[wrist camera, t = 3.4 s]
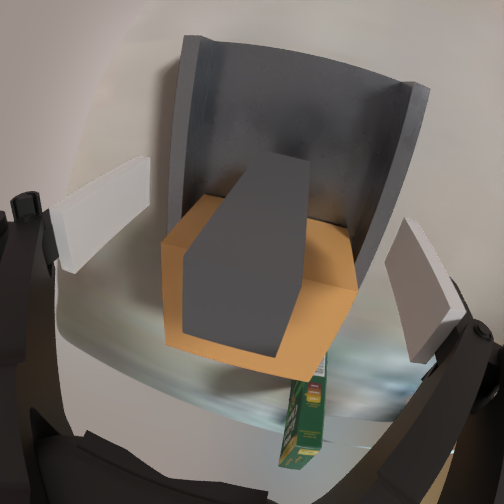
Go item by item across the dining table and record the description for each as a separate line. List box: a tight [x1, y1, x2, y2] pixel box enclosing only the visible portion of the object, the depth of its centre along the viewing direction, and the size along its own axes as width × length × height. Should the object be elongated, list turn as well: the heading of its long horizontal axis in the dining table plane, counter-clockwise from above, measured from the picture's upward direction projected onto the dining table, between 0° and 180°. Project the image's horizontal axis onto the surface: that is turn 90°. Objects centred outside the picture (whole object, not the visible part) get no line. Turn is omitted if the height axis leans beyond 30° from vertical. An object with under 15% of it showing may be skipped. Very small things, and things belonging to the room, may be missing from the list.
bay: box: [167, 35, 430, 290], centre depth 22 cm, size 24×16×4 cm, turn 171°
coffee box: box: [279, 352, 327, 470], centre depth 29 cm, size 8×3×13 cm, turn 173°
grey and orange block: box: [161, 150, 358, 382], centre depth 18 cm, size 16×12×16 cm
